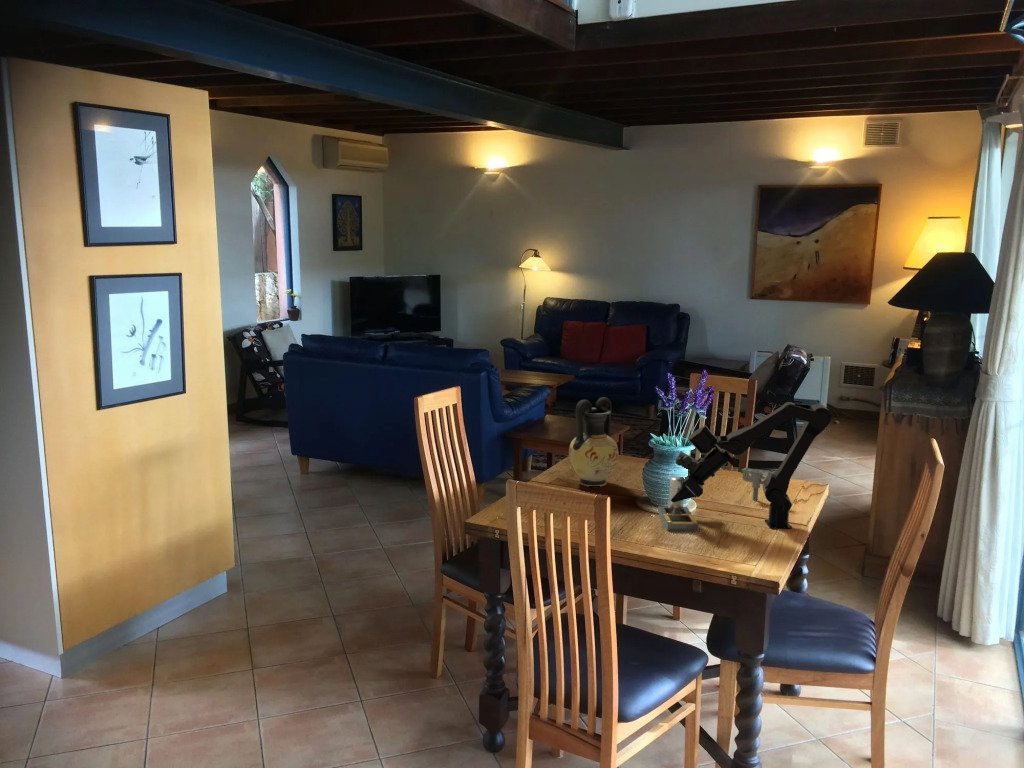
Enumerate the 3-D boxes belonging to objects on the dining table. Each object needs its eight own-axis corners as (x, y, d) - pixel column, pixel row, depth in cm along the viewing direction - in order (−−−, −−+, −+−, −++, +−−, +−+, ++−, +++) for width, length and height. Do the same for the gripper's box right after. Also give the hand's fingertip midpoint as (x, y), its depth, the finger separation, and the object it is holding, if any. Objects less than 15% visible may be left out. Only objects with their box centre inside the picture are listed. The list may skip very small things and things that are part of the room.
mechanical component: (768, 504, 272) (770, 474, 270) (738, 498, 278) (740, 469, 276) (771, 502, 274) (774, 472, 272) (741, 496, 280) (743, 467, 279)
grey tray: (697, 531, 246) (698, 523, 246) (667, 530, 246) (667, 523, 246) (686, 513, 262) (686, 505, 262) (657, 512, 262) (658, 505, 262)
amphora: (589, 473, 303) (592, 391, 298) (627, 483, 292) (631, 399, 287) (557, 482, 291) (559, 398, 286) (595, 494, 279) (598, 405, 274)
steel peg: (683, 520, 256) (685, 480, 253) (669, 519, 256) (671, 480, 253) (680, 515, 260) (682, 476, 258) (666, 515, 260) (668, 476, 258)
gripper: (691, 437, 262) (653, 469, 266) (693, 452, 244) (653, 486, 248) (715, 463, 262) (677, 494, 266) (719, 480, 244) (679, 513, 248)
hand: (671, 496), depth 257 cm, fingers open, 9 cm apart
